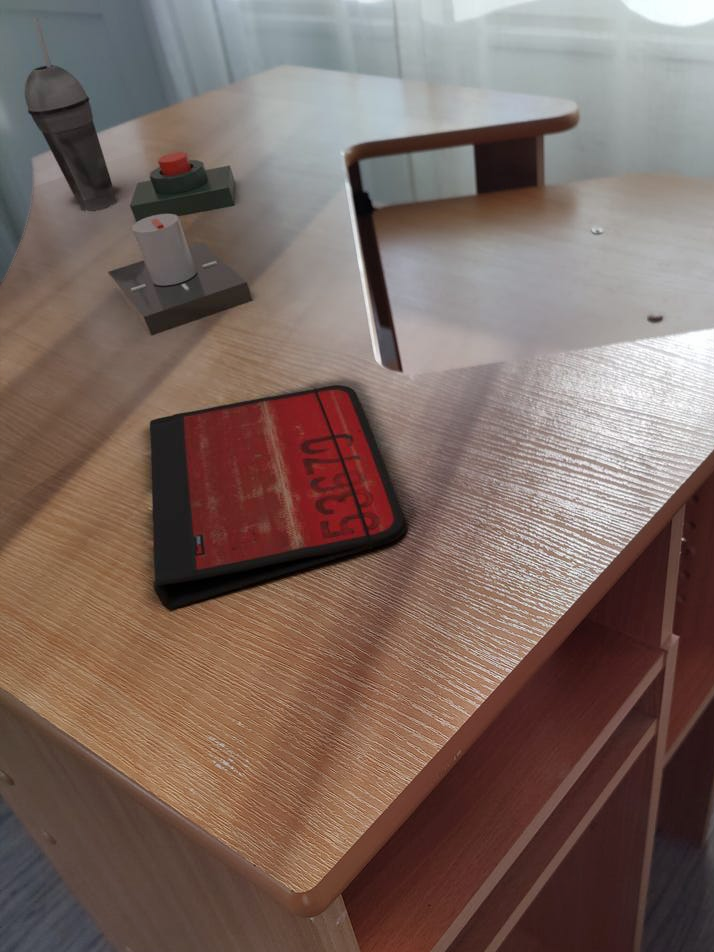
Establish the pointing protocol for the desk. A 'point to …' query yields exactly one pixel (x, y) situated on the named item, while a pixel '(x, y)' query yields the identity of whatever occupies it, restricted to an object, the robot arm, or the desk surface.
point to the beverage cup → (69, 131)
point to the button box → (184, 192)
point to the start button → (174, 163)
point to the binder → (265, 491)
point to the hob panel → (181, 292)
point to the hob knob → (164, 249)
